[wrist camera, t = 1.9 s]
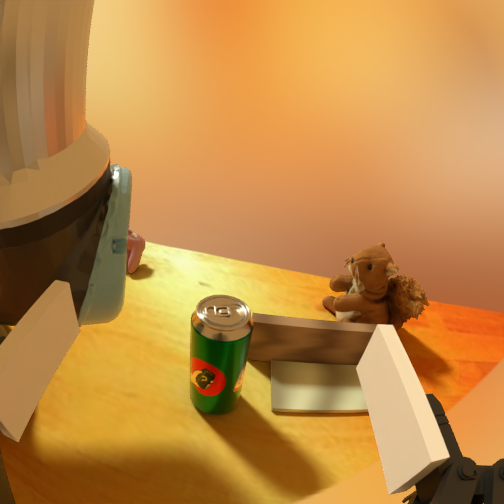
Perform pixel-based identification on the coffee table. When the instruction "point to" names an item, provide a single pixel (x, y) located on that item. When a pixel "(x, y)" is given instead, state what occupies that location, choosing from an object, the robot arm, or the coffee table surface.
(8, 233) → the robot arm
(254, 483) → the coffee table surface
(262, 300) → the coffee table surface
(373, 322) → the stuffed squirrel
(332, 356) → the brown wooden angled piece
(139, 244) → the video game controller
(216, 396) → the soda can
